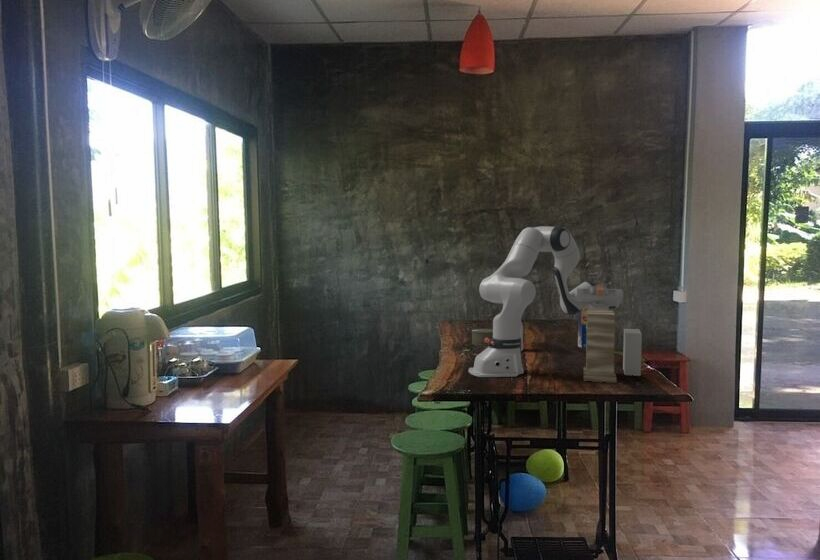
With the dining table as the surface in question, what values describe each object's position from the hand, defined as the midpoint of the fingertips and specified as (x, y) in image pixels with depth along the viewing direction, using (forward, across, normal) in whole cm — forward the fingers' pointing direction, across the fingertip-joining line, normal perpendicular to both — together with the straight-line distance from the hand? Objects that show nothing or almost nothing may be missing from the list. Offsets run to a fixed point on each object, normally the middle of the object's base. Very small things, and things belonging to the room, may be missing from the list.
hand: (599, 287), depth 271 cm
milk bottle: (-38, -38, +17) cm, 56 cm away
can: (-51, -56, +10) cm, 76 cm away
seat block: (-7, +13, +35) cm, 38 cm away
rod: (+7, 0, +6) cm, 9 cm away
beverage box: (-54, -2, +8) cm, 54 cm away
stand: (+4, 0, +40) cm, 41 cm away
